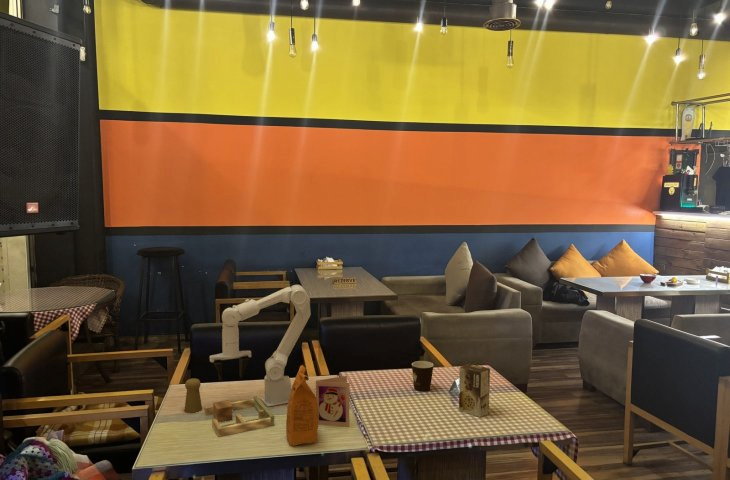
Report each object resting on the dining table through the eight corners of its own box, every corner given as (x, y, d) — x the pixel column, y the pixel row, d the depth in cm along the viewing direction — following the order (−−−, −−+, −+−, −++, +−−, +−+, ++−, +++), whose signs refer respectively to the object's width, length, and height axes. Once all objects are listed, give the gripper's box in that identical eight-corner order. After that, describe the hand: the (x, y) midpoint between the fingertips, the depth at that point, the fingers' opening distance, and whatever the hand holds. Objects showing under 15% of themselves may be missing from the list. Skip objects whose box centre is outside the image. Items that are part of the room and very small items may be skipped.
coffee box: (489, 412, 190) (491, 368, 189) (480, 418, 185) (481, 372, 184) (467, 405, 196) (468, 362, 195) (457, 410, 192) (459, 366, 190)
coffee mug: (434, 393, 208) (434, 368, 207) (412, 392, 208) (412, 367, 207) (430, 382, 220) (431, 358, 219) (409, 382, 220) (410, 358, 219)
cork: (196, 414, 186) (196, 383, 185) (180, 412, 187) (180, 381, 186) (205, 407, 192) (204, 377, 191) (189, 405, 193) (189, 376, 192)
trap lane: (256, 404, 195) (256, 396, 194) (274, 425, 178) (274, 416, 177) (204, 414, 186) (204, 405, 186) (218, 436, 169) (218, 427, 168)
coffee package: (316, 428, 176) (316, 363, 174) (319, 446, 164) (319, 375, 162) (286, 430, 174) (286, 364, 172) (286, 447, 162) (286, 377, 160)
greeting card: (314, 425, 178) (315, 381, 177) (319, 416, 185) (320, 374, 184) (348, 427, 176) (349, 383, 175) (352, 418, 184) (352, 376, 182)
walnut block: (227, 414, 187) (227, 400, 186) (232, 420, 181) (232, 406, 181) (213, 416, 184) (213, 402, 184) (217, 423, 179) (217, 409, 178)
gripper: (247, 336, 199) (247, 372, 200) (207, 341, 192) (208, 378, 193) (252, 341, 193) (253, 377, 194) (212, 346, 186) (212, 384, 187)
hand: (230, 378), depth 193 cm, fingers open, 7 cm apart
